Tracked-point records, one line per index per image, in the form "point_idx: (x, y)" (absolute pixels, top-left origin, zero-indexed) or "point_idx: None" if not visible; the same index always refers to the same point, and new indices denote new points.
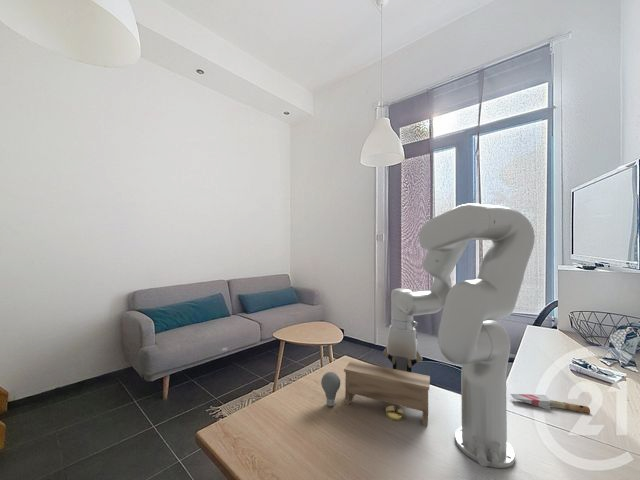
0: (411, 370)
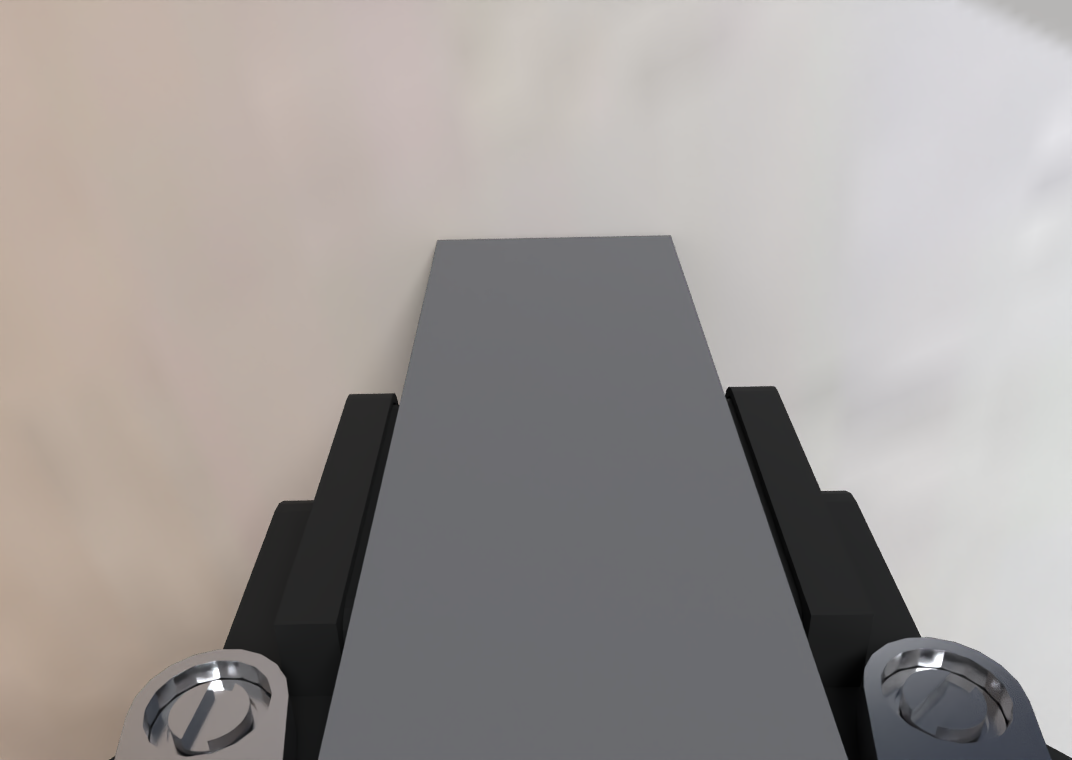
0: (878, 576)
